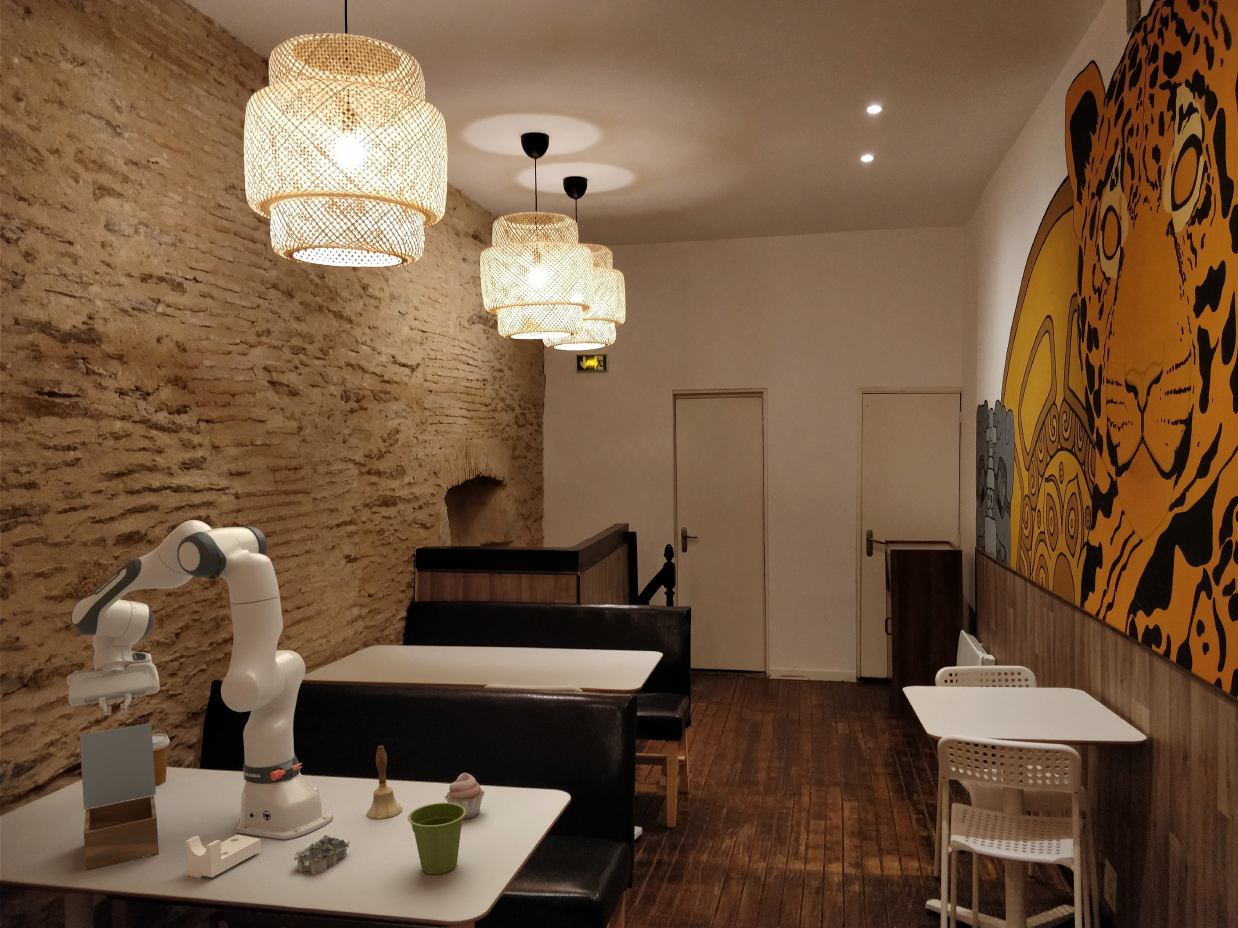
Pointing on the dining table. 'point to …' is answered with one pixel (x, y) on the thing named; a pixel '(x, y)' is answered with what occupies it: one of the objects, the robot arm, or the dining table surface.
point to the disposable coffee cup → (160, 757)
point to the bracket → (219, 854)
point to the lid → (117, 765)
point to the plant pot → (437, 835)
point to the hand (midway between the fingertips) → (116, 712)
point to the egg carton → (319, 863)
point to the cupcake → (466, 794)
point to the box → (120, 832)
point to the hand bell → (383, 792)
